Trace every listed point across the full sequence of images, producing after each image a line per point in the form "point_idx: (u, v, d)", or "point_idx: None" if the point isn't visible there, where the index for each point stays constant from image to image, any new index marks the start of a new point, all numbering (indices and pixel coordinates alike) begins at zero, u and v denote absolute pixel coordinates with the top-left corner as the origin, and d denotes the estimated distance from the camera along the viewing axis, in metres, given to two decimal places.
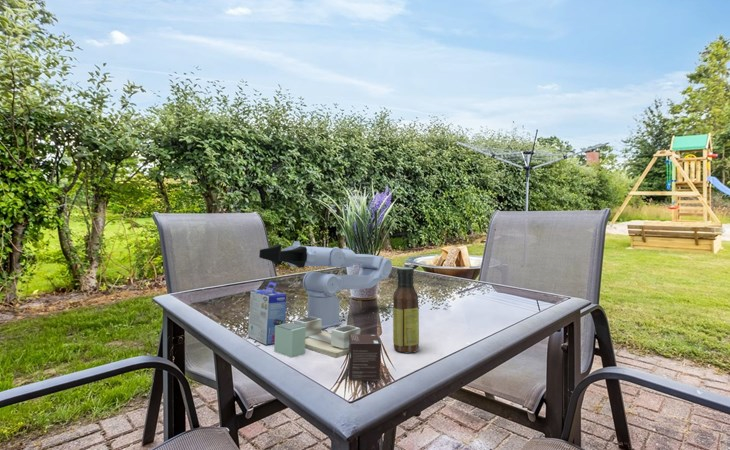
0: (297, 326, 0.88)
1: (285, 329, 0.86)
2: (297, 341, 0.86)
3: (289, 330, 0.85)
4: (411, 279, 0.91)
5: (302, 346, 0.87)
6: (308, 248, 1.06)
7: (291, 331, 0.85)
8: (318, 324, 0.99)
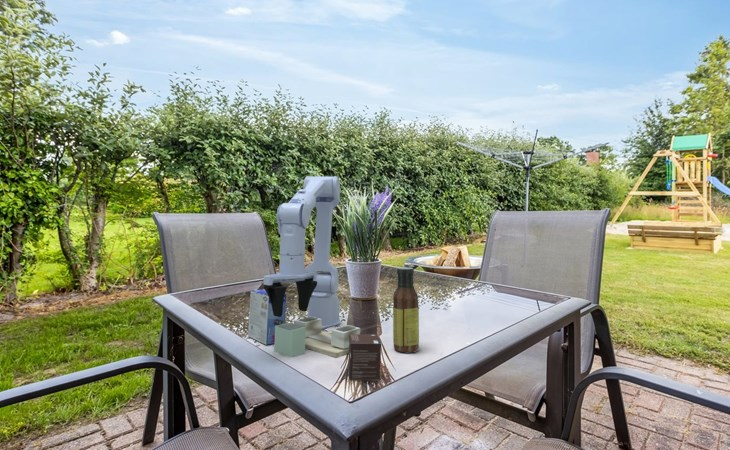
0: (297, 326, 0.88)
1: (285, 329, 0.86)
2: (297, 341, 0.86)
3: (289, 330, 0.85)
4: (411, 279, 0.91)
5: (302, 346, 0.87)
6: (304, 262, 0.88)
7: (291, 331, 0.85)
8: (318, 324, 0.99)
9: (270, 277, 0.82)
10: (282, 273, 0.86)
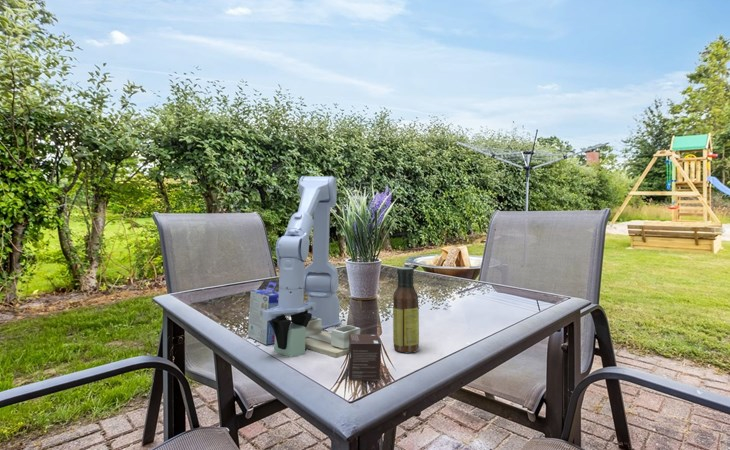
0: (297, 326, 0.88)
1: None
2: (297, 340, 0.86)
3: (289, 330, 0.85)
4: (411, 279, 0.91)
5: (302, 345, 0.87)
6: (303, 295, 0.88)
7: (291, 331, 0.85)
8: (318, 324, 0.99)
9: (269, 312, 0.82)
10: (281, 307, 0.86)
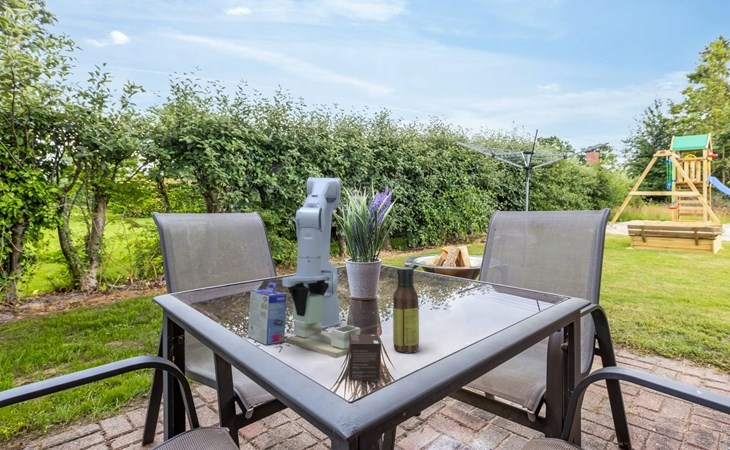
0: (315, 294, 0.91)
1: None
2: (315, 308, 0.89)
3: (308, 297, 0.88)
4: (411, 279, 0.91)
5: (319, 313, 0.90)
6: (321, 264, 0.91)
7: (310, 298, 0.88)
8: (318, 324, 0.99)
9: (289, 279, 0.85)
10: (300, 275, 0.89)
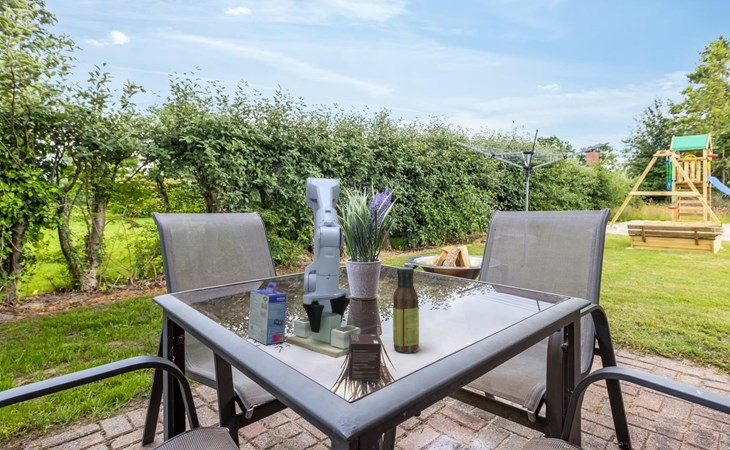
0: (333, 314, 0.94)
1: (323, 316, 0.93)
2: (334, 327, 0.92)
3: (327, 317, 0.92)
4: (411, 279, 0.91)
5: None
6: (338, 281, 0.95)
7: (329, 318, 0.91)
8: None
9: (309, 297, 0.89)
10: (319, 292, 0.92)
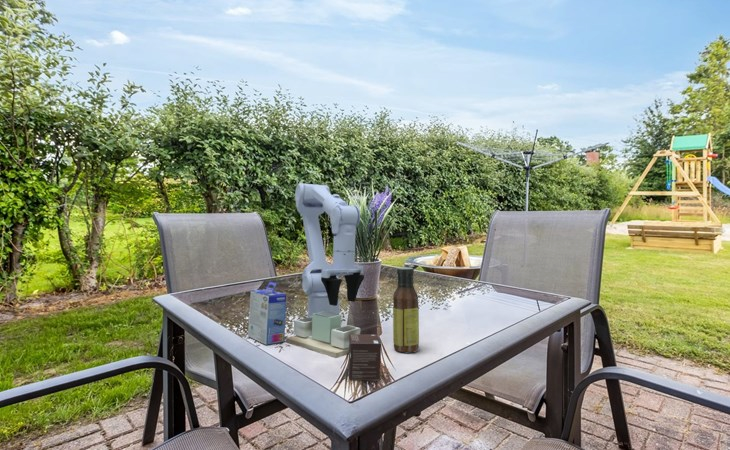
0: (333, 314, 0.94)
1: (323, 316, 0.93)
2: (334, 327, 0.92)
3: (327, 317, 0.92)
4: (411, 279, 0.91)
5: None
6: (354, 258, 0.99)
7: (329, 318, 0.91)
8: None
9: (328, 271, 0.93)
10: (336, 267, 0.97)
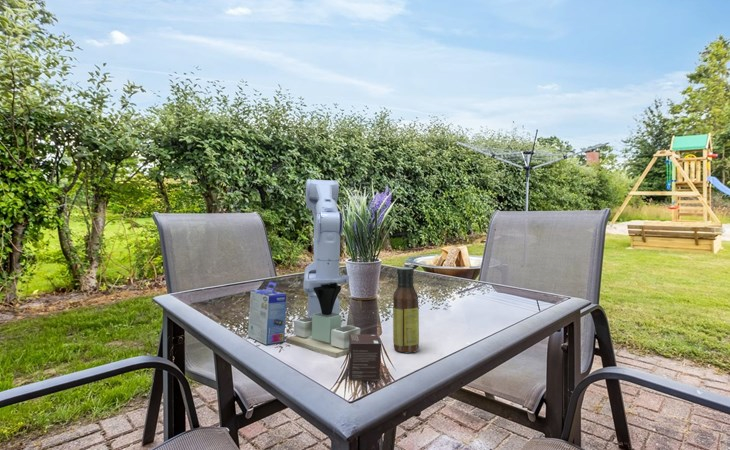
0: (333, 314, 0.94)
1: (323, 317, 0.93)
2: (334, 327, 0.92)
3: (327, 317, 0.92)
4: (411, 279, 0.91)
5: None
6: None
7: (329, 318, 0.91)
8: None
9: (310, 281, 0.89)
10: (319, 277, 0.92)
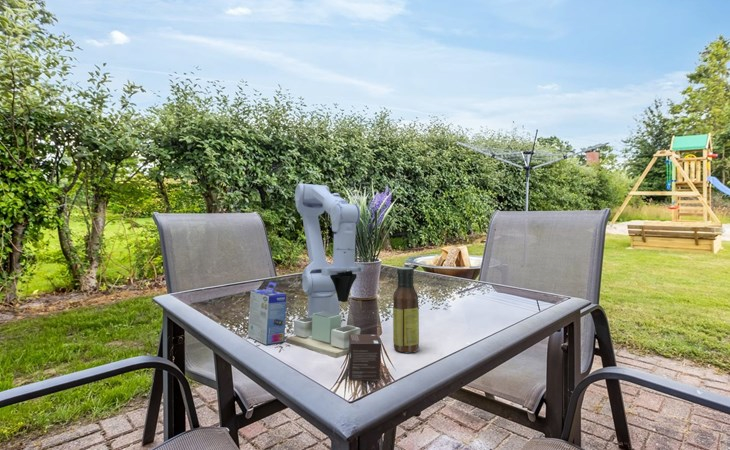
0: (333, 314, 0.94)
1: (323, 316, 0.93)
2: (334, 327, 0.92)
3: (327, 317, 0.92)
4: (411, 279, 0.91)
5: None
6: (354, 256, 0.99)
7: (329, 318, 0.91)
8: None
9: (328, 269, 0.93)
10: (336, 265, 0.97)
